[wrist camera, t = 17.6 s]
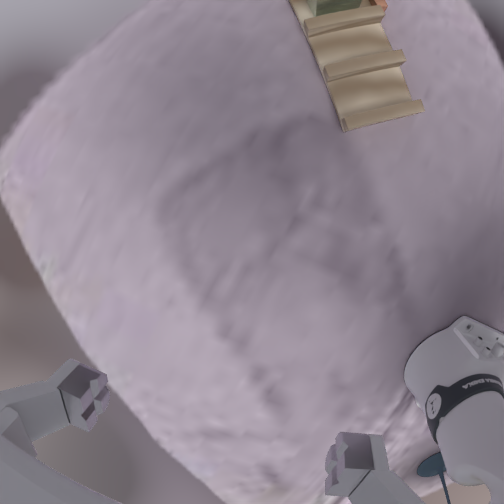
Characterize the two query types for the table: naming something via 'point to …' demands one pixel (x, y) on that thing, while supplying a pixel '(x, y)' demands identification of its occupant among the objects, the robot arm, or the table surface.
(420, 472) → the cocktail glass
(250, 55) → the table surface
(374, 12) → the rack
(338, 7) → the block
